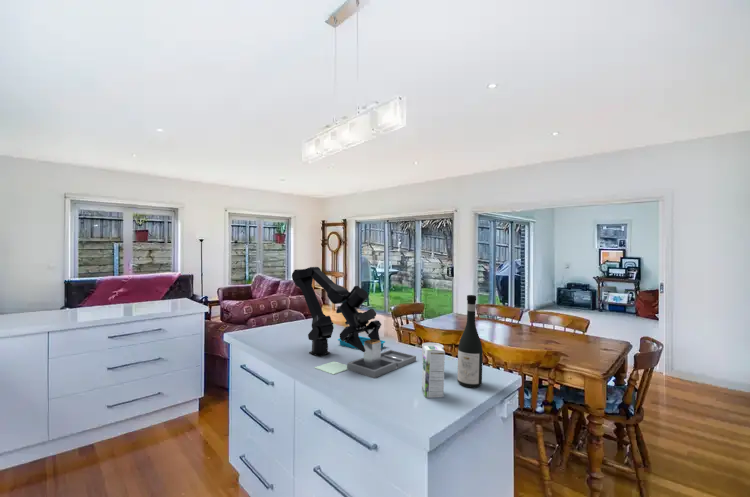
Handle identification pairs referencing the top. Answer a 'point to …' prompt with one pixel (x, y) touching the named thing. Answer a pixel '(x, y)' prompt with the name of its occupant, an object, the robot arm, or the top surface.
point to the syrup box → (433, 371)
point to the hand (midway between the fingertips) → (372, 348)
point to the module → (372, 354)
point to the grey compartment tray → (382, 364)
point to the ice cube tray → (361, 341)
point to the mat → (332, 367)
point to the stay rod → (393, 358)
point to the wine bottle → (470, 350)
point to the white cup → (430, 344)
